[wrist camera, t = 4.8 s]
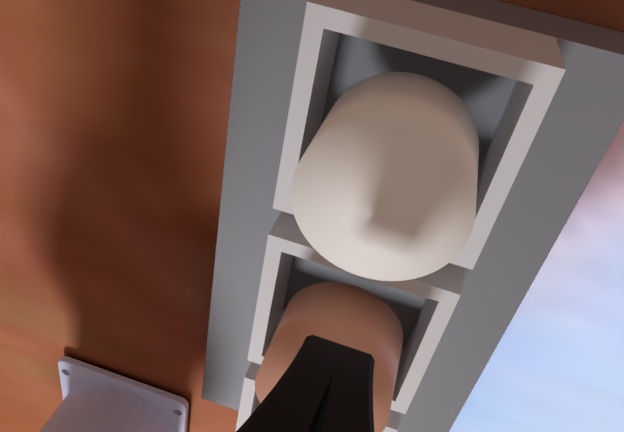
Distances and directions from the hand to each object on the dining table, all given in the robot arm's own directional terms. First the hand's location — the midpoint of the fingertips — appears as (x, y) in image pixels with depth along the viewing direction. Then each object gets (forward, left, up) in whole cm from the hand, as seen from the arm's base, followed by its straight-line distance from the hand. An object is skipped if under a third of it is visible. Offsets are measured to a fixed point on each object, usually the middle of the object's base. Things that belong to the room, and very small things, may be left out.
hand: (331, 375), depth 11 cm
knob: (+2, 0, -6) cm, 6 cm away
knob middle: (-5, 0, -6) cm, 7 cm away
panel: (-5, 0, -11) cm, 11 cm away
